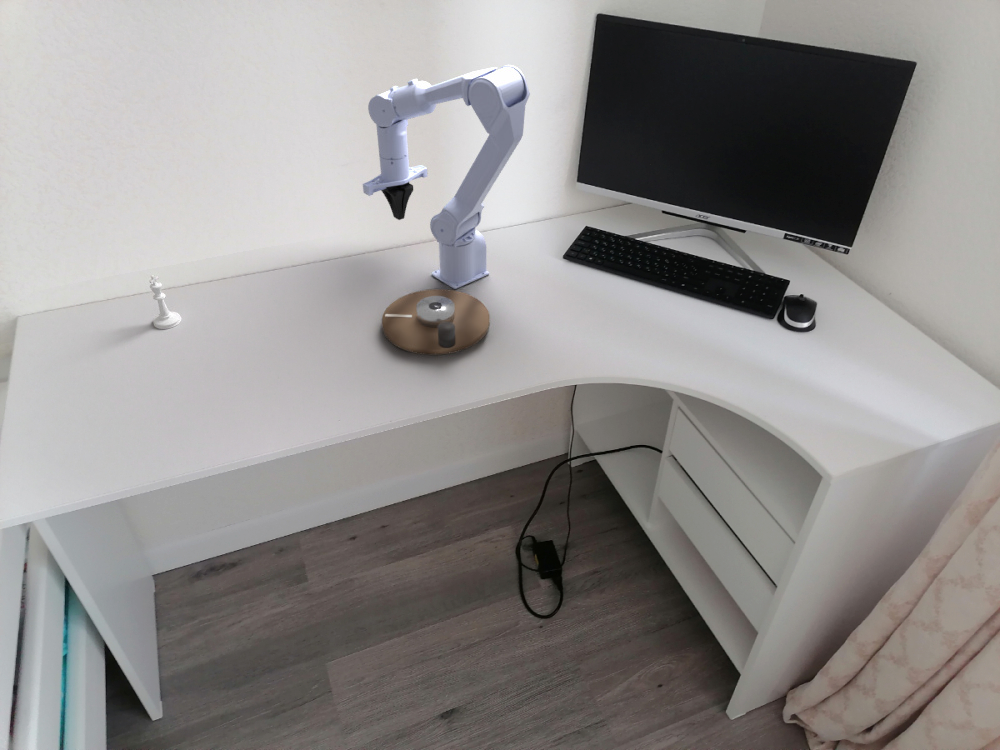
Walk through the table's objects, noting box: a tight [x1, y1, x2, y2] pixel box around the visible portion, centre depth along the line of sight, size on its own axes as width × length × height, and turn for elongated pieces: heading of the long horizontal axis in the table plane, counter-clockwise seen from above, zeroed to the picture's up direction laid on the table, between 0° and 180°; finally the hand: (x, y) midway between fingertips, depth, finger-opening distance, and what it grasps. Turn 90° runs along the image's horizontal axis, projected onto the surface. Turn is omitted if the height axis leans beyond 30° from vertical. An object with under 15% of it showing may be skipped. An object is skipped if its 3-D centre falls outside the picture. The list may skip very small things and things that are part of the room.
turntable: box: [381, 288, 490, 356], centre depth 135 cm, size 20×20×5 cm
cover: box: [416, 296, 455, 328], centre depth 135 cm, size 7×7×3 cm
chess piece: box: [149, 274, 182, 330], centre depth 135 cm, size 5×5×10 cm
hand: (398, 217), depth 152 cm, fingers closed
